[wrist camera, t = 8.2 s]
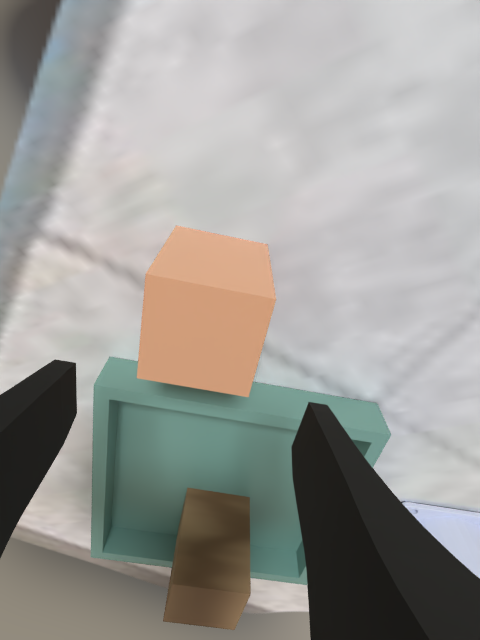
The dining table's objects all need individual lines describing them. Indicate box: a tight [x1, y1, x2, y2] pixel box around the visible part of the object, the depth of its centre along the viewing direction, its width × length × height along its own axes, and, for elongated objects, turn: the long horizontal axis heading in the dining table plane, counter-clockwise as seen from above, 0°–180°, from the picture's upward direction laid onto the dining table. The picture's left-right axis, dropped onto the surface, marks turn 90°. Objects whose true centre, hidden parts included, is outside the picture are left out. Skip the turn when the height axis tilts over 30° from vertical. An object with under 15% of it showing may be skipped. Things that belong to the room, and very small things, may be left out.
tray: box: [91, 357, 391, 585], centre depth 24 cm, size 16×16×2 cm
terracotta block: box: [137, 226, 276, 397], centre depth 16 cm, size 4×4×6 cm
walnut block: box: [163, 488, 250, 630], centre depth 24 cm, size 4×4×6 cm
